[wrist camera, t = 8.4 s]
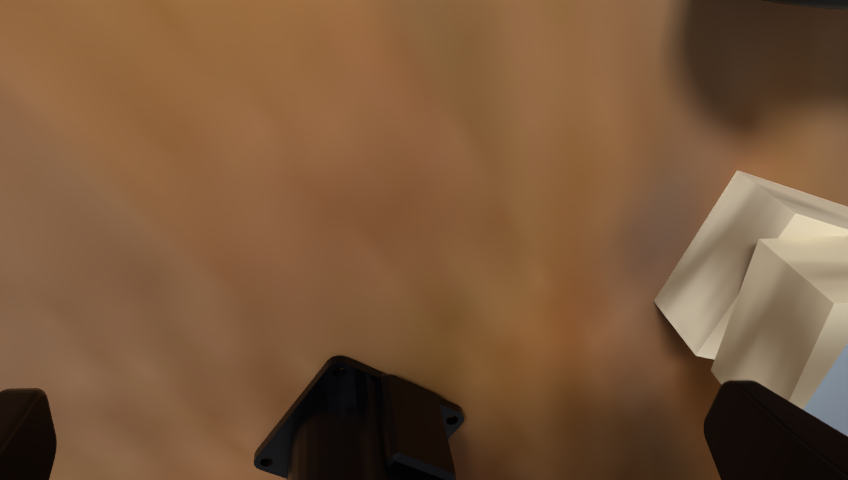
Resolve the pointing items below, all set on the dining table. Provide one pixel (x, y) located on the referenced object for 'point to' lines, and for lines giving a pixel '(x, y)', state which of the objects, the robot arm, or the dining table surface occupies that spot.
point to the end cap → (817, 3)
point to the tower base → (737, 253)
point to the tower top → (788, 317)
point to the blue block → (833, 396)
